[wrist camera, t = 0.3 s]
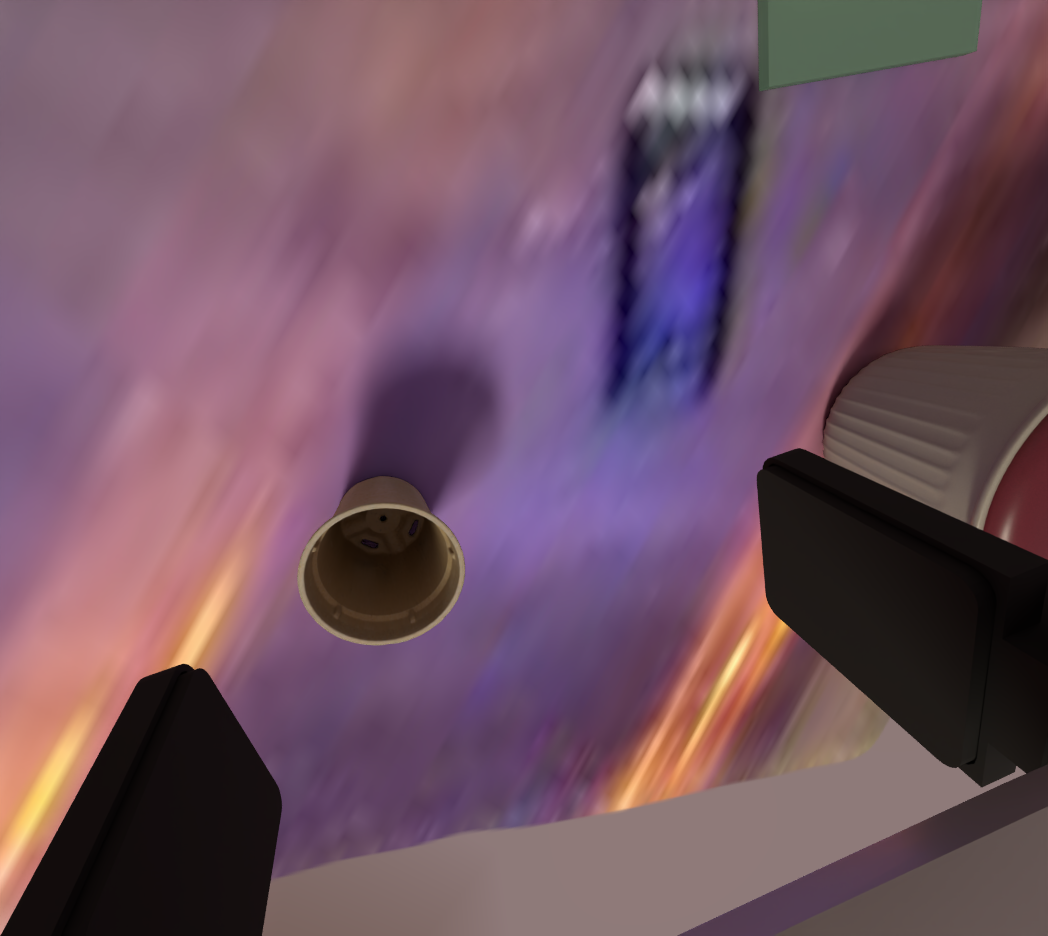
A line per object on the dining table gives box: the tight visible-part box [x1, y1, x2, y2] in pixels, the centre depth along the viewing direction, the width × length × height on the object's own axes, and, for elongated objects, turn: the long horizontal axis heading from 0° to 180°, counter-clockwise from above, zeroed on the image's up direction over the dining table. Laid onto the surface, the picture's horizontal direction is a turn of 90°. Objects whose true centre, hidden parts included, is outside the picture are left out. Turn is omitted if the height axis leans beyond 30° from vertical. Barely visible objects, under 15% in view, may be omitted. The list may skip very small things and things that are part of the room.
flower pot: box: [297, 476, 465, 645], centre depth 37 cm, size 9×9×9 cm
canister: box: [823, 345, 1048, 560], centre depth 39 cm, size 18×18×21 cm
